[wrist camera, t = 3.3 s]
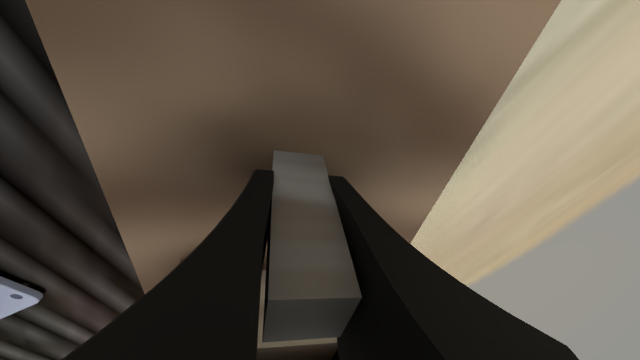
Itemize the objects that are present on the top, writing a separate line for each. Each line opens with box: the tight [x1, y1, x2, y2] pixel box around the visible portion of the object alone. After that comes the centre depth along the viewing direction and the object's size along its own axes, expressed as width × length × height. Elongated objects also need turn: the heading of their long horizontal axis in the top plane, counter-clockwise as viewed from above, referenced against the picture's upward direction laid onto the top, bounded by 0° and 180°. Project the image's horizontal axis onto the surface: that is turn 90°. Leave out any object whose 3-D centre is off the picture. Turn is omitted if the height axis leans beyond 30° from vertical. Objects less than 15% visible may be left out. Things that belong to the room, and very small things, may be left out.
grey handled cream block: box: [257, 150, 362, 360], centre depth 11 cm, size 14×6×6 cm, turn 168°
